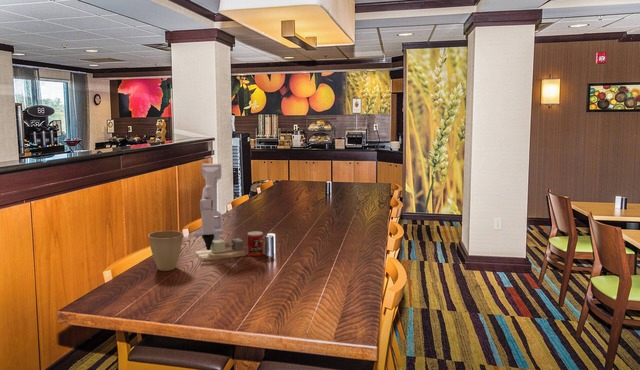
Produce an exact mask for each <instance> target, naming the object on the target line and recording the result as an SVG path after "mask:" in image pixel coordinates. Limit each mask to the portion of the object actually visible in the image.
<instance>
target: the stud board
mask: <svg viewBox="0 0 640 370" xmlns="http://www.w3.org/2000/svg"><path fill="white" fill-rule="evenodd" d="M194 255H195V256H196V257H197V258H198V259H199V260H200V261H201V262H205V261H207V262H208V261H212V260H222V259H231V258H237V257H246V256H247V252H246V251H244V241H243V240H242V239H241V238H231V242H227V243H226V242H225V252H219V253H212V252H211V251H210V250H207V249H201V250H195V251H194Z"/></svg>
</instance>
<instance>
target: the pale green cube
mask: <svg viewBox="0 0 640 370" xmlns="http://www.w3.org/2000/svg"><path fill="white" fill-rule="evenodd" d="M225 243H226V242H225V241H224V240H223V239H220V240H214V241H212V244H211V248H210V251H211V252H212V253H219V252H225Z"/></svg>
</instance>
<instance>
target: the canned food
mask: <svg viewBox="0 0 640 370" xmlns="http://www.w3.org/2000/svg"><path fill="white" fill-rule="evenodd" d="M246 237H247V239H246V240H247V255H248V256H250V257H260V256H262V255H263V254H264V233H263V231H259V230H258V231H257V230H255V231H254V230H253V231H249V232H247V235H246Z"/></svg>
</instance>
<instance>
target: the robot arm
mask: <svg viewBox="0 0 640 370" xmlns="http://www.w3.org/2000/svg"><path fill="white" fill-rule="evenodd" d="M200 168H201V175H202V178H203V179H204V180H205V186H204V187H203V188H202V195H201V199H200V200H199V208H200V214H201V230H200V231H199V230H198V231H194V232H192V238H196V237H201V238H202V239H203V241H204V242H203V244H204V245H205V248H206V249H205V250H210V248H211V244H212V241H214V240H221V235H223V234H224V229H222V228H223V223H224V222H223V215H222V213H221V212H219V210H218V181H219V180H221V179H222V164H221V163H220V162H219V163H205V162H204V163H203V162H202V164H201V167H200Z"/></svg>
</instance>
